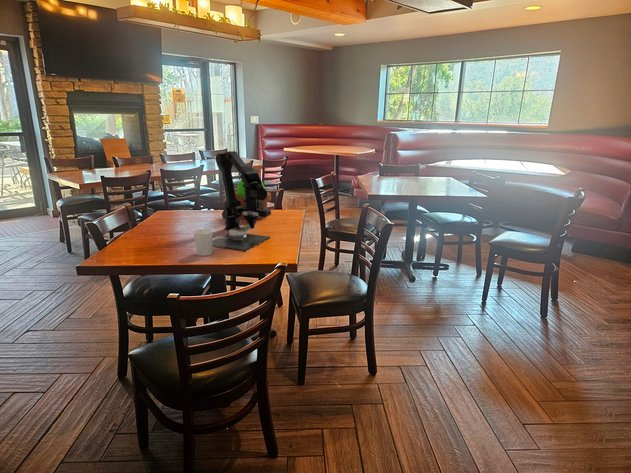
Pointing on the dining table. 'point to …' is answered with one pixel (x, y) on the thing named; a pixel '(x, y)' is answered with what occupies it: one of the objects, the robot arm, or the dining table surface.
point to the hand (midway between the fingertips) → (252, 228)
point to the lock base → (239, 242)
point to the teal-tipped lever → (239, 232)
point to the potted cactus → (241, 197)
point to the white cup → (203, 241)
